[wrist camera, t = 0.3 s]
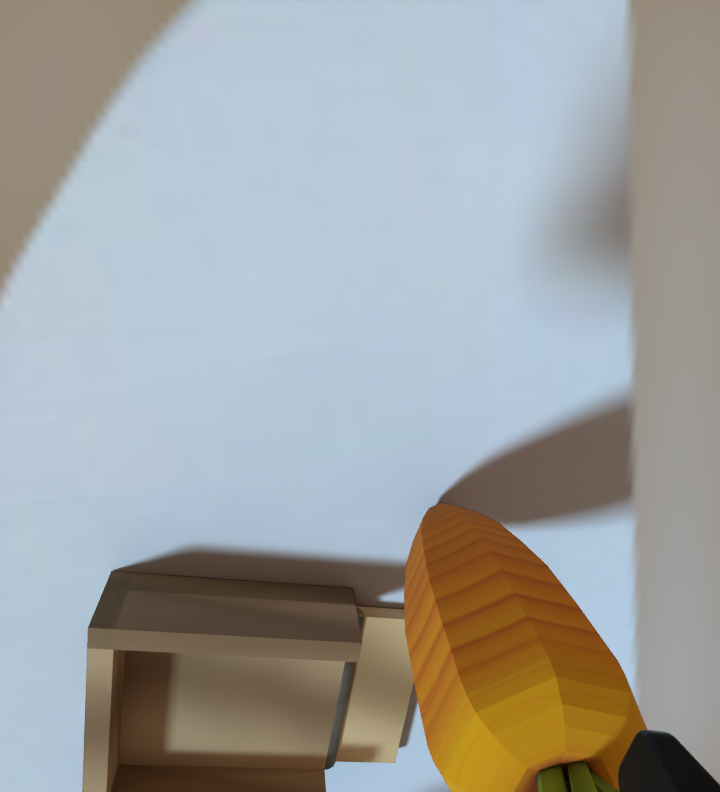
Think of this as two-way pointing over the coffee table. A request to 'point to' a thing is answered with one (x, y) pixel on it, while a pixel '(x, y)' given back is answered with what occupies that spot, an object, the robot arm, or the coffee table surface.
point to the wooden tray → (238, 685)
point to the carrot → (509, 665)
